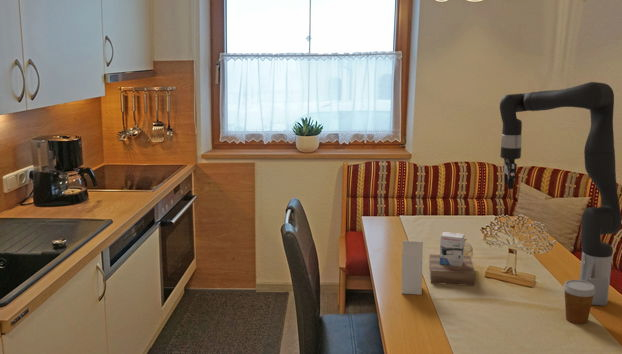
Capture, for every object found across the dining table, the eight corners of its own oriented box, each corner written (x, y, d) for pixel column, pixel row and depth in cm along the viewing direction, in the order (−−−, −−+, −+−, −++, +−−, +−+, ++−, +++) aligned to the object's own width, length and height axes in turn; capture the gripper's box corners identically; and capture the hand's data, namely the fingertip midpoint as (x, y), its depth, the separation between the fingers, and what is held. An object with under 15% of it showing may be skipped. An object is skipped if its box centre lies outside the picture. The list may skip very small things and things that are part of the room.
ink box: (439, 264, 220) (439, 235, 217) (441, 260, 224) (442, 231, 222) (461, 267, 216) (462, 237, 214) (463, 262, 221) (464, 233, 218)
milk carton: (421, 295, 204) (422, 244, 200) (401, 293, 205) (402, 243, 201) (421, 287, 211) (422, 238, 207) (402, 286, 212) (403, 237, 208)
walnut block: (474, 285, 212) (474, 272, 211) (430, 283, 214) (431, 270, 213) (469, 267, 229) (470, 256, 228) (429, 266, 232) (429, 254, 231)
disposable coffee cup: (565, 310, 189) (568, 276, 187) (596, 318, 183) (599, 283, 181) (556, 321, 182) (559, 286, 180) (588, 329, 176) (591, 293, 174)
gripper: (524, 148, 213) (522, 191, 216) (517, 143, 226) (515, 182, 230) (503, 148, 214) (501, 190, 217) (498, 143, 228) (496, 182, 231)
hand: (508, 186), depth 223 cm, fingers open, 8 cm apart
